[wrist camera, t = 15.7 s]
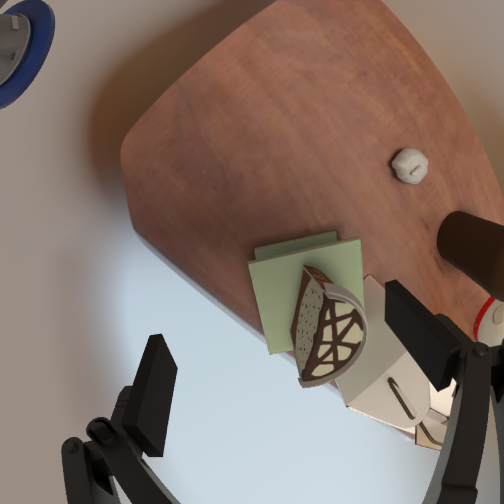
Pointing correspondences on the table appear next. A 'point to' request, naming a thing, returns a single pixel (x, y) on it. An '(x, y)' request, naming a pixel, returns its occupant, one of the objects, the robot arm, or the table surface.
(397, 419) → the gable box
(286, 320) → the stand
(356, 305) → the food container
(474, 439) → the robot arm
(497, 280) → the olive oil
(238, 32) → the table surface
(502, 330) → the kitchen timer
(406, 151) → the garlic
